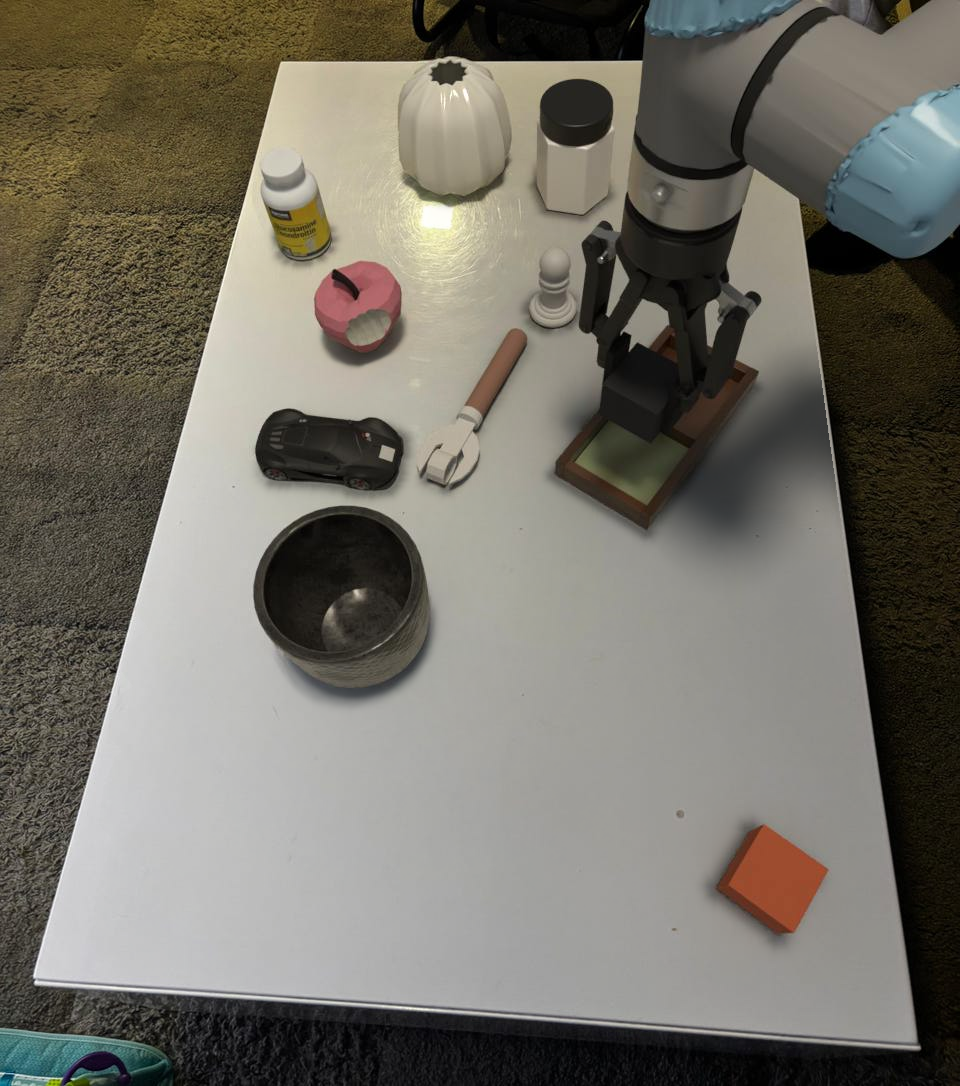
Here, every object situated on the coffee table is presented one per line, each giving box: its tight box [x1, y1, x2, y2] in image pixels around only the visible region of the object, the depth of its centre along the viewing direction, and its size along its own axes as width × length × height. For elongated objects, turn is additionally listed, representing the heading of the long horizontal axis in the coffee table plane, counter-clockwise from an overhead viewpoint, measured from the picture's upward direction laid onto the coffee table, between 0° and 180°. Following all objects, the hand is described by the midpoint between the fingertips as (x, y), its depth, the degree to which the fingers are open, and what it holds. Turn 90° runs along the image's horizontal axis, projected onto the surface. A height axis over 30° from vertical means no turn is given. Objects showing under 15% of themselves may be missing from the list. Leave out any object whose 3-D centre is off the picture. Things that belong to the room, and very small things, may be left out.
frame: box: [554, 324, 760, 531], centre depth 84 cm, size 11×21×3 cm, turn 143°
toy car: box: [254, 407, 405, 491], centre depth 85 cm, size 7×15×4 cm, turn 81°
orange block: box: [716, 823, 829, 934], centre depth 64 cm, size 6×6×4 cm
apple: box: [313, 260, 403, 354], centre depth 89 cm, size 10×9×10 cm
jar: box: [536, 78, 615, 216], centre depth 96 cm, size 9×8×12 cm
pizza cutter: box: [416, 327, 528, 486], centre depth 87 cm, size 20×6×3 cm, turn 154°
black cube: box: [598, 342, 679, 444], centre depth 72 cm, size 6×6×4 cm
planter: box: [252, 504, 431, 689], centre depth 72 cm, size 14×14×13 cm
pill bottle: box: [259, 146, 332, 261], centre depth 95 cm, size 6×6×12 cm
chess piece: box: [528, 246, 578, 329], centre depth 89 cm, size 5×5×9 cm
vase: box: [397, 55, 513, 197], centre depth 98 cm, size 14×14×13 cm
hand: (641, 406), depth 73 cm, fingers closed on black cube, 5 cm apart
